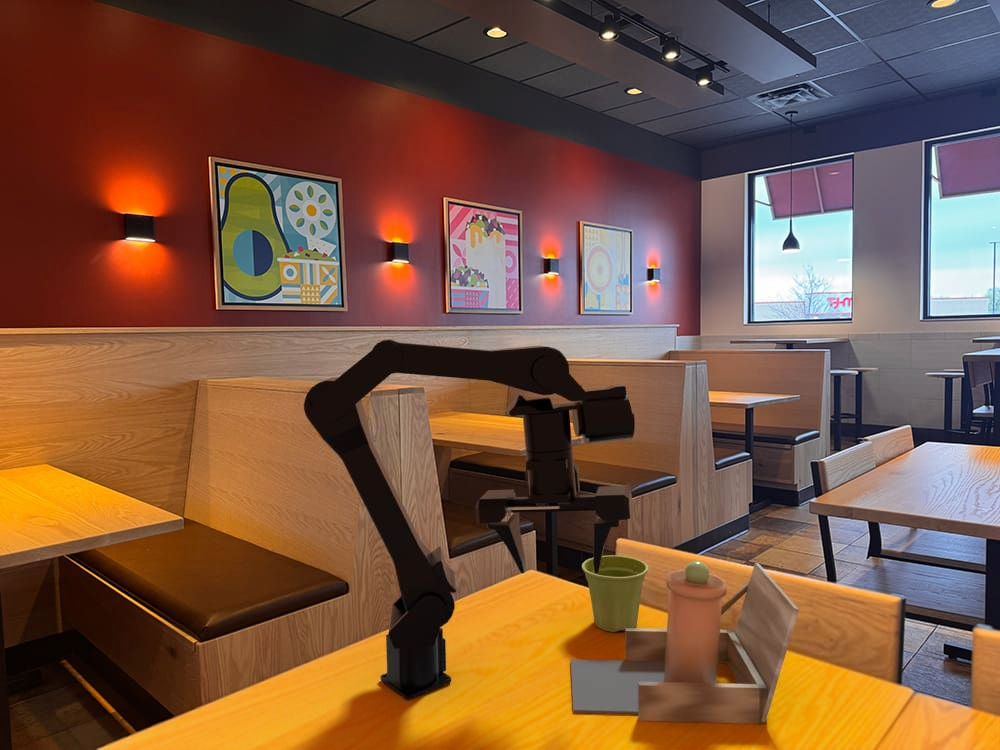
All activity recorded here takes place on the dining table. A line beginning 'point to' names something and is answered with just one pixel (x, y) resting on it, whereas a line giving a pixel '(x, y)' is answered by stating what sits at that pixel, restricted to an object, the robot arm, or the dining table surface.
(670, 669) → the pink lidded canister
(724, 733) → the dining table surface
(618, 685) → the mat
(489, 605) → the dining table surface
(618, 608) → the plant pot
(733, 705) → the brown open rectangular box
